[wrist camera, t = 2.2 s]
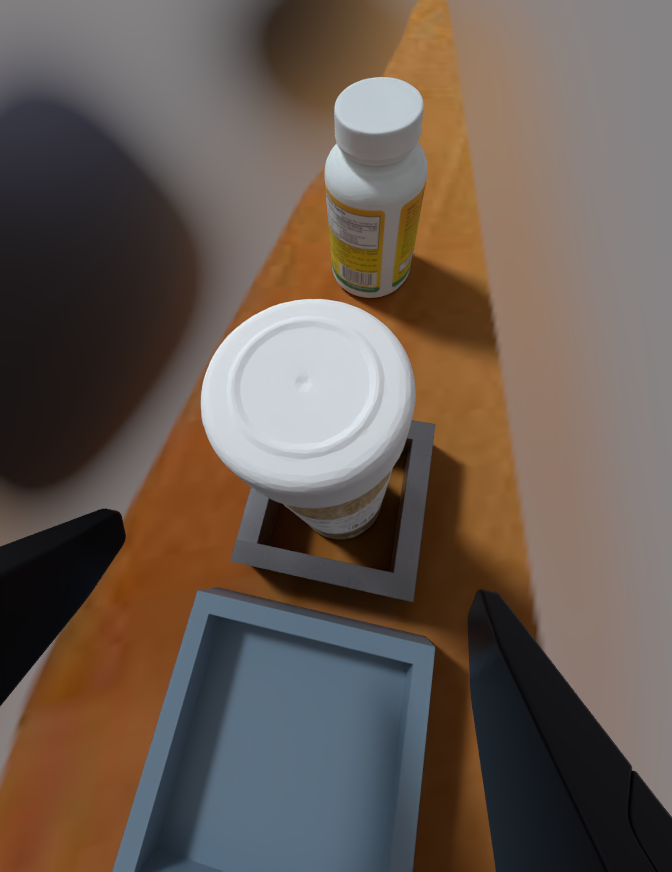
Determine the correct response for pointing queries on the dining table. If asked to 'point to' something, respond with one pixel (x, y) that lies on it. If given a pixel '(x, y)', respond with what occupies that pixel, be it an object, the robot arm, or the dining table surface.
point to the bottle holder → (394, 584)
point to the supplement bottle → (375, 185)
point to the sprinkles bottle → (312, 410)
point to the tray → (284, 745)
